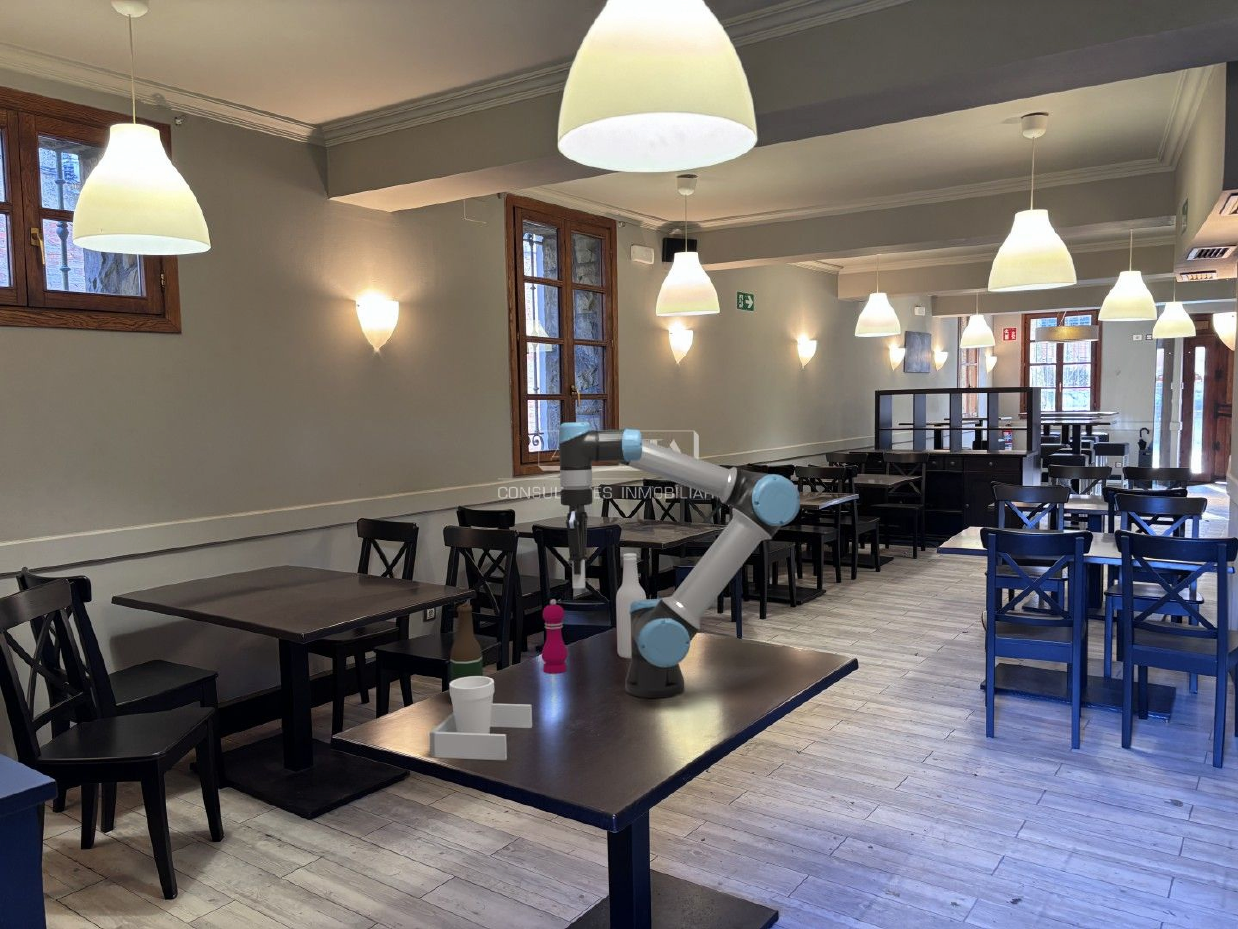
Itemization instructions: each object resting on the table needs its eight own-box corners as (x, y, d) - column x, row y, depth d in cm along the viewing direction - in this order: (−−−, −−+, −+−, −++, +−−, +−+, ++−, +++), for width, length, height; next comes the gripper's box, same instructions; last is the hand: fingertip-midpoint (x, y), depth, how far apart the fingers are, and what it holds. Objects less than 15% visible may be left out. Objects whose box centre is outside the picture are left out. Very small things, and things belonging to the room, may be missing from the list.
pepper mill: (564, 674, 234) (562, 602, 233) (538, 673, 236) (536, 601, 235) (570, 667, 241) (568, 596, 240) (546, 666, 243) (544, 596, 242)
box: (532, 726, 193) (531, 704, 193) (505, 760, 173) (504, 736, 173) (464, 724, 196) (463, 702, 196) (430, 757, 176) (429, 733, 176)
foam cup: (449, 737, 187) (447, 678, 187) (491, 732, 190) (490, 674, 190) (454, 752, 178) (452, 691, 178) (498, 747, 181) (496, 686, 181)
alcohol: (620, 660, 248) (618, 556, 247) (614, 652, 256) (612, 552, 255) (650, 657, 249) (647, 555, 248) (643, 650, 258) (641, 551, 257)
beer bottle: (468, 708, 207) (465, 610, 206) (445, 703, 211) (441, 607, 210) (490, 699, 214) (487, 604, 213) (466, 695, 218) (463, 601, 217)
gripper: (567, 486, 208) (569, 582, 209) (553, 490, 196) (556, 592, 196) (597, 485, 207) (599, 582, 208) (586, 489, 194) (588, 593, 195)
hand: (579, 587), depth 202 cm, fingers closed
